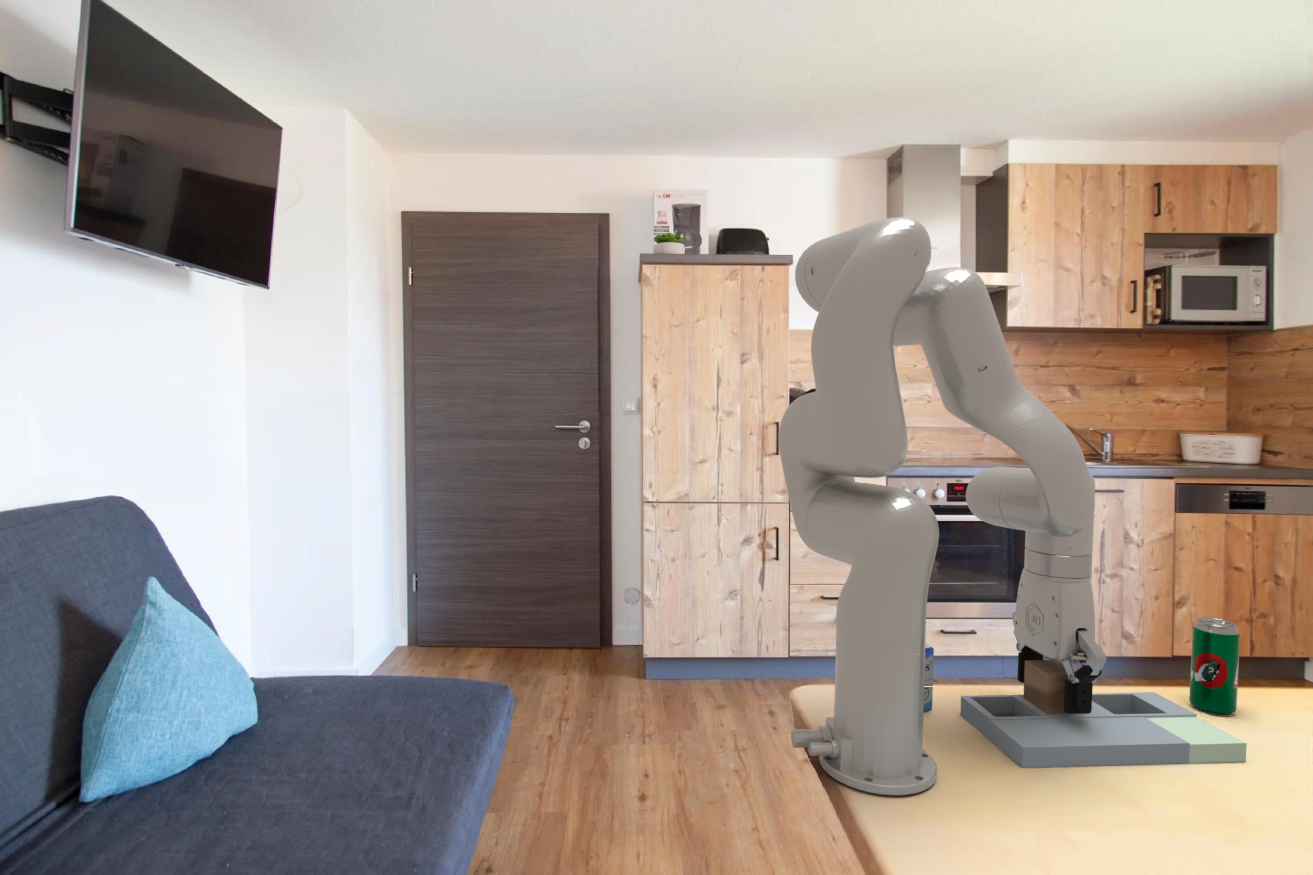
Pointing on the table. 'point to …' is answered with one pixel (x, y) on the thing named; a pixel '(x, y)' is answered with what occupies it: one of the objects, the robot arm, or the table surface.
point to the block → (1045, 685)
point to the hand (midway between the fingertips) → (1052, 696)
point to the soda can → (1214, 666)
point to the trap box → (1101, 732)
